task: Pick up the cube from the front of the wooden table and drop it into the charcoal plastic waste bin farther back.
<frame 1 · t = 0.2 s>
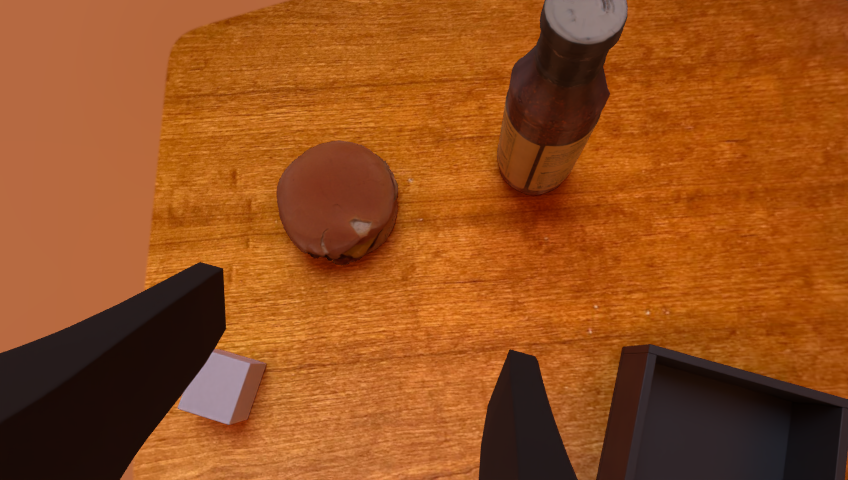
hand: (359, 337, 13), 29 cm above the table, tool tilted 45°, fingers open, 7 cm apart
bin: (694, 459, 39), on the table
chocolate glazed sandwich cookie: (345, 208, 44), on the table
sauce bottle: (529, 163, 45), on the table
cube: (233, 384, 41), on the table
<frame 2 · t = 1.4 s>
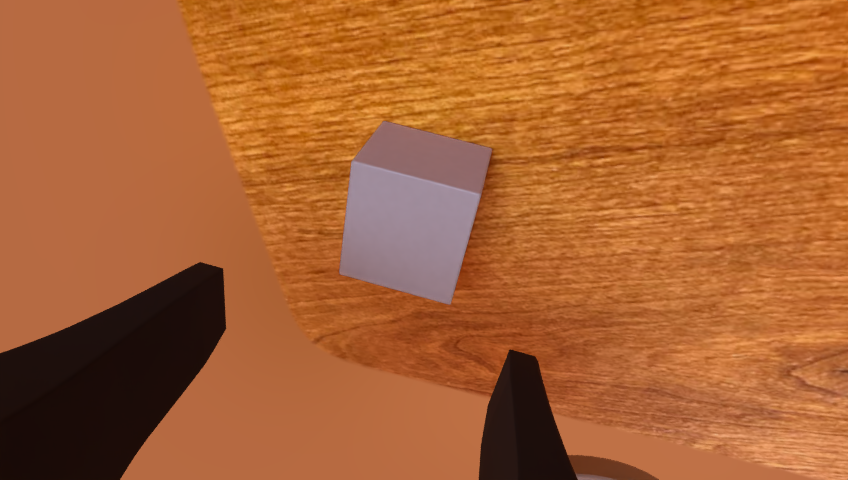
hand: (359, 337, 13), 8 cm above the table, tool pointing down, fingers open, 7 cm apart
cube: (426, 187, 20), on the table
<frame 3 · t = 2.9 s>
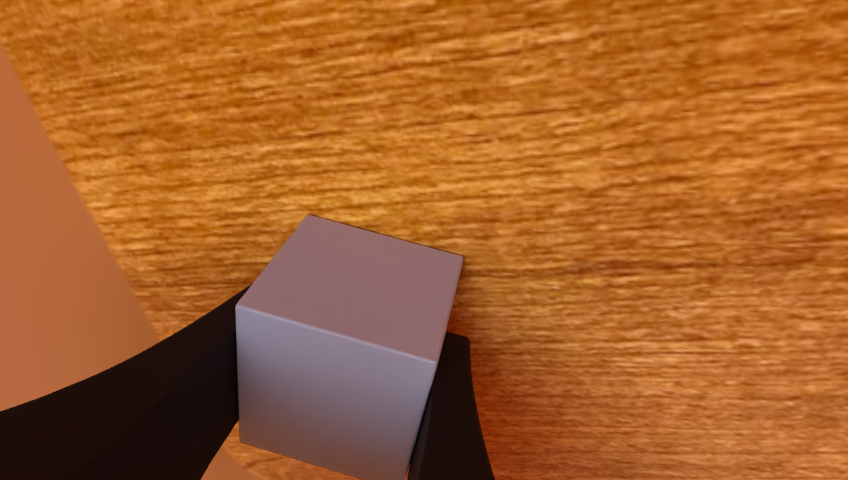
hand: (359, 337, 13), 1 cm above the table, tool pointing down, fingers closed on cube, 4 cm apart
cube: (373, 301, 14), on the table, touching gripper
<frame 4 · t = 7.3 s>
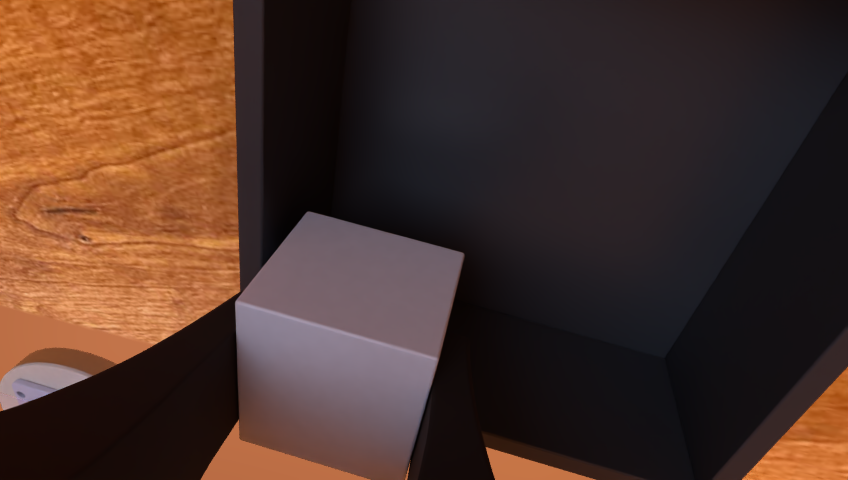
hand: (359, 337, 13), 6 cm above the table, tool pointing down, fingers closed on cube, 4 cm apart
bin: (545, 146, 15), on the table
cube: (374, 298, 14), point 4 cm above the table, touching gripper
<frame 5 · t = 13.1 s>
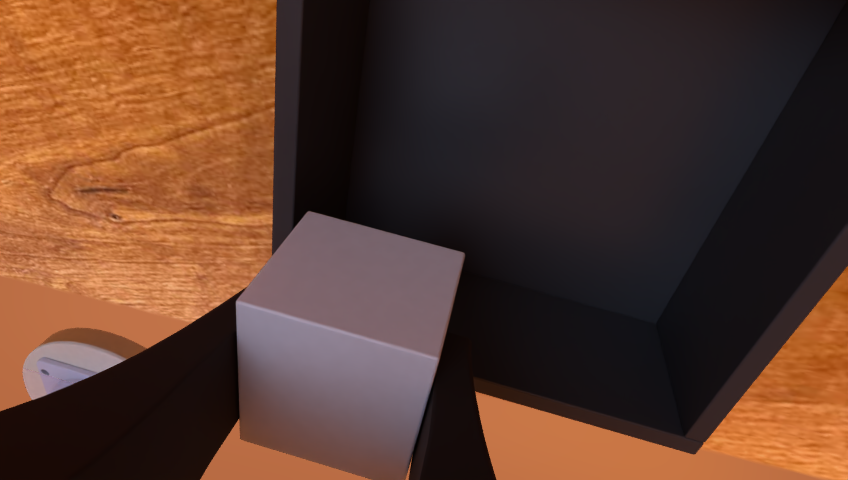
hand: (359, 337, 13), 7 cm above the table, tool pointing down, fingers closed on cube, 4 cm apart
bin: (545, 125, 17), on the table
cube: (374, 298, 14), point 6 cm above the table, touching gripper
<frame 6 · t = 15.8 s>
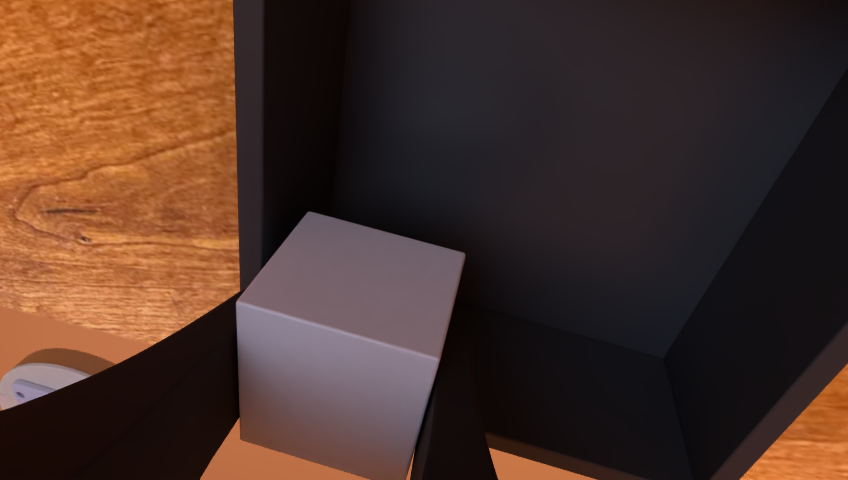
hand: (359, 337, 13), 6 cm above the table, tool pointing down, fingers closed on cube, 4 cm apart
bin: (544, 146, 15), on the table
cube: (375, 298, 14), point 4 cm above the table, touching gripper
when the fingers open (8 cm above the table, at t = 18.4 s): cube drops 6 cm, resting on bin.
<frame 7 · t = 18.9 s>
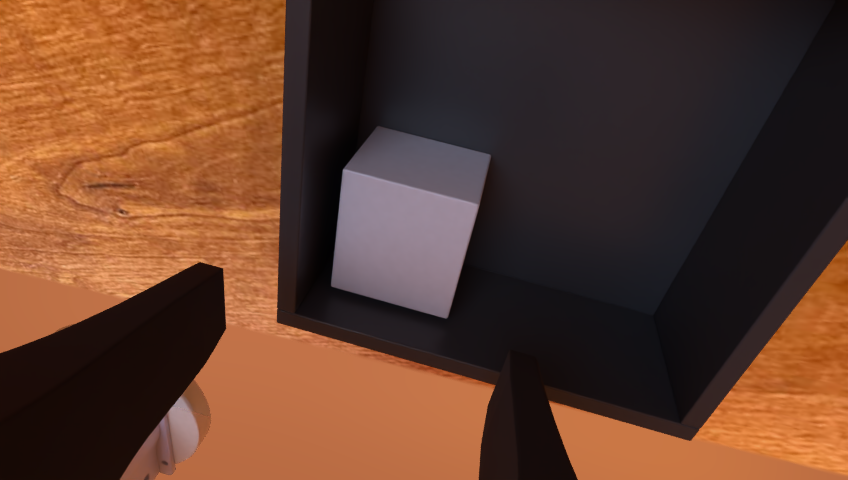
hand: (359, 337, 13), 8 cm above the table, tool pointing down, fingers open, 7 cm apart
bin: (545, 120, 17), on the table
cube: (422, 195, 19), resting on bin
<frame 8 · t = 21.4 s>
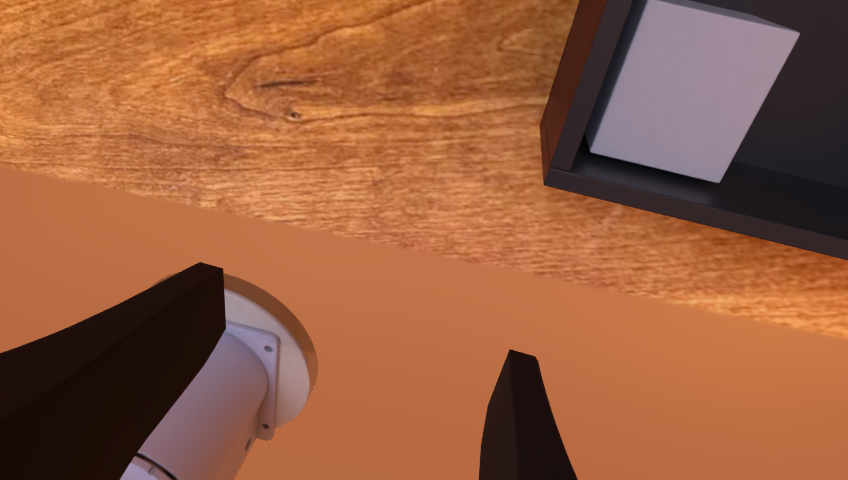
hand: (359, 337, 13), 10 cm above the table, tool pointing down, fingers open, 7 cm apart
cube: (659, 69, 18), resting on bin
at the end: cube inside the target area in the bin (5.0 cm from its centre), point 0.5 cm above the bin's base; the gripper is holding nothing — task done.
